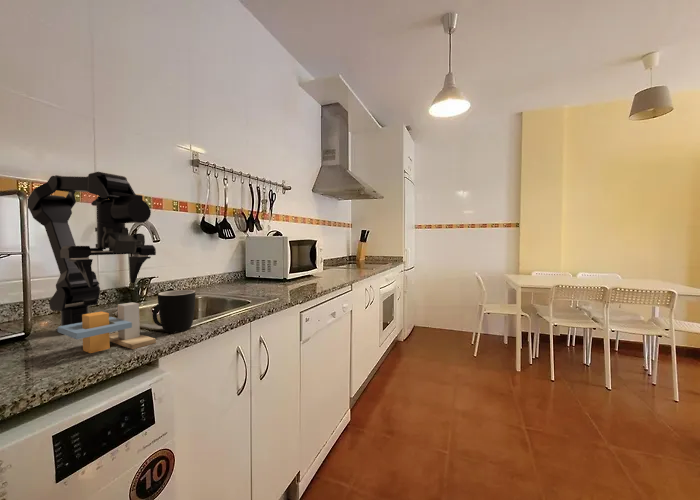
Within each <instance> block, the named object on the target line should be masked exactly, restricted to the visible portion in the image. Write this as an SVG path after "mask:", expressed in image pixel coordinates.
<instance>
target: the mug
mask: <svg viewBox="0 0 700 500" xmlns="http://www.w3.org/2000/svg"><path fill="white" fill-rule="evenodd" d="M195 309H196V291H195V290H192V289H177V290H167V291H161V292H158V294H157V304H156V305H155V307H154V309H153V312H152V319H153V323H154V324H155V325H156V326H158V327H161V329H162V330H163V331H164V332H165V333H181V332H185V331H188V330H190V329H191V328H192V325H193V322H194V317H195V311H196V310H195ZM158 312H159V313H158ZM158 315H159V319H158ZM159 320H160V321H159Z"/></svg>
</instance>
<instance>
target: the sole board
mask: <svg viewBox="0 0 700 500" xmlns="http://www.w3.org/2000/svg"><path fill="white" fill-rule="evenodd" d="M109 338H110V342H111V343H113V344H116V345H119V346H122V347H124V348H128V349H131V350H135V349H139V348H143V347H147V346H149V345H153V344H156V343H157V339H156V338H155V337H152V336H148V335H144V334H140V336H139V337H135V338H131V339H127V340H124V339H121V338H118V331H115V332H111V333H109Z"/></svg>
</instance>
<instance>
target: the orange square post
mask: <svg viewBox="0 0 700 500" xmlns="http://www.w3.org/2000/svg"><path fill="white" fill-rule="evenodd" d="M109 317H110V313H109V312H105V311H96V312H89V314H83V315H82V328H83V329H90V328H95V327H100V326H105V325H109ZM109 334H110V332H109V333H104V334H100V335H95V336H91V337H86V338H82V351H83V352H85V353H89V354H92V353H97V352H101V351H105V350H108V349H111V348H110V347H111V346H110V338H109Z"/></svg>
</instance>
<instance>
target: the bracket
mask: <svg viewBox="0 0 700 500" xmlns="http://www.w3.org/2000/svg"><path fill="white" fill-rule="evenodd" d="M57 328H58V331H57V333H59V334H62V335H64V336H67V337H69V338H73V339H74V340H81V339H83V338H86V337H91V336H95V335H100V334H104V333H109V334H110V333H115V332H118V338H121V339H124V340H127V339H131V338H135V337H139V336H140V331H141V329H140V303H138V302H127V303H119V304H117V318H116V317H113V316H109V325H105V326H100V327H95V328H90V329H83V328H82V322H81V323H75V324H70V325H64V326H61V325H59V326H57Z"/></svg>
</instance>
